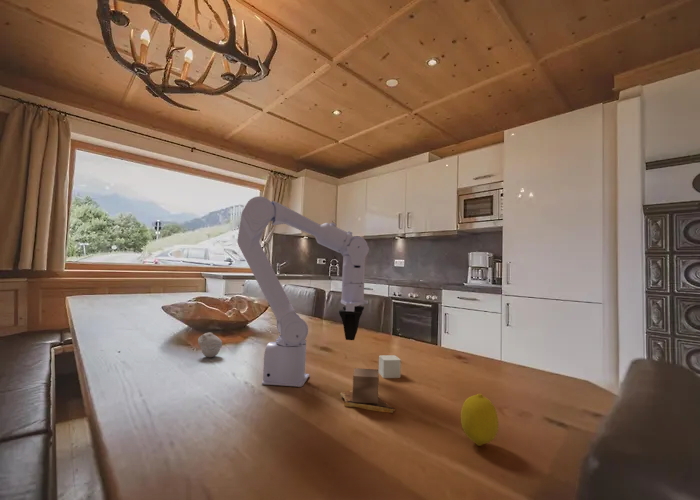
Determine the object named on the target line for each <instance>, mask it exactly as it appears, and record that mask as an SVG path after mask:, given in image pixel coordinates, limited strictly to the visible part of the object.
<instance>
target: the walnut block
mask: <svg viewBox="0 0 700 500" xmlns="http://www.w3.org/2000/svg"><path fill="white" fill-rule="evenodd" d="M379 375H380V373H379V368H378V369H377V368H359V367H358V368H357V367H355V368H354V370H353V377H352V390H353V400H352V402H360V403H376V404H378V397H379V385H380V384H379V381H380V377H379Z"/></svg>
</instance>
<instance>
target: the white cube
mask: <svg viewBox="0 0 700 500" xmlns="http://www.w3.org/2000/svg"><path fill="white" fill-rule="evenodd" d="M401 361H402V360H401V358H399V357H398V356H397V355H396V354H395V355H394V354H391V355H390V354H389V355H387V354H385V355H383V354H382V355H381V354H380V355H379V356H378V373H379V375H380V376H381V377H382V378H383V379H398V378H399V379H400V378H401V370H402V369H401V368H402V362H401Z"/></svg>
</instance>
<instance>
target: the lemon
mask: <svg viewBox="0 0 700 500" xmlns="http://www.w3.org/2000/svg"><path fill="white" fill-rule="evenodd" d="M497 412H498V411H497V409H496V406H495V405H494V404H493V402H492V401H491V400H490V399H488V397H486V396H484V395H483V394H482V393H477V394H474V395H471V396H469V397H467V398H466V399H465V401H464V402H463V404H462V406H461V411H460V423H461V427H462V430H463V432H464V434H465V435H466V436H467V438H468V439H469V440H470V441H472V442H474V443H475V445H476V446H478V447H481V446H483V445H485V444H488V443H491V442H492V441H493V440H495V438H496V436H497V433H498V429H499V418H498V413H497Z"/></svg>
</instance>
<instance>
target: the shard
mask: <svg viewBox="0 0 700 500" xmlns="http://www.w3.org/2000/svg"><path fill="white" fill-rule="evenodd" d="M339 394H340V396H341V397H342V398H343V399H344V402H343V404H344V407H349V408H350V407H351V408H358V409H364V410H369V411H375V412H380V413H390V414H393V413H394V411H396V409H395V408H394V407H393V406H391V405H390V404H388V403H387V402H385V401H384V400H383V399H381V398H380V397H379V396H378V404H376V403H360V402H352V400H353V389H352V390H345V391H341V392H340V393H339Z"/></svg>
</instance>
